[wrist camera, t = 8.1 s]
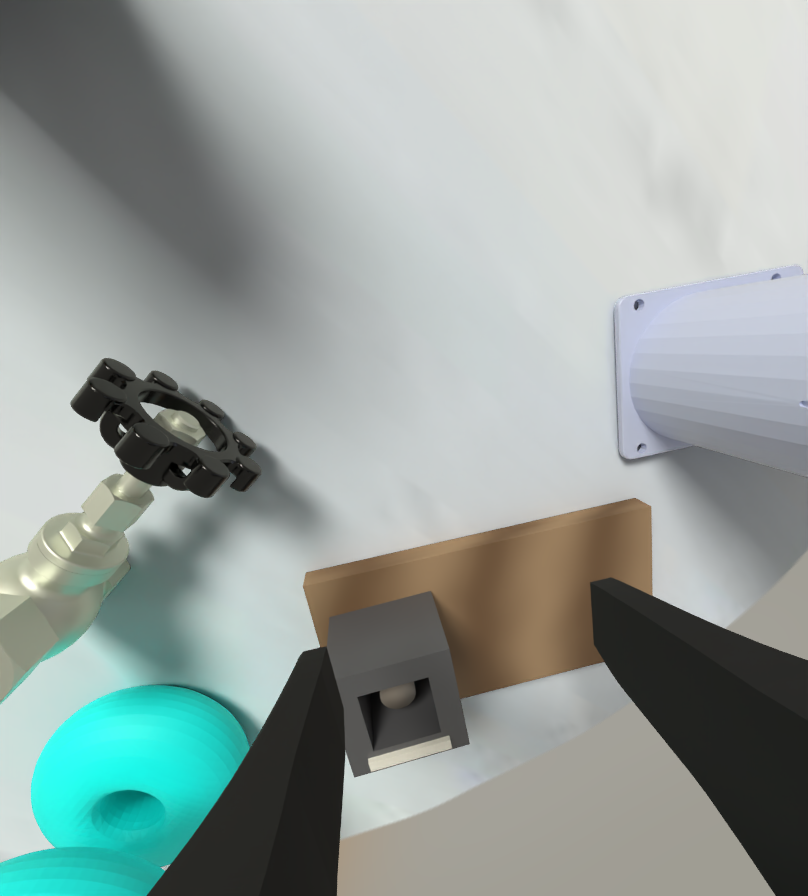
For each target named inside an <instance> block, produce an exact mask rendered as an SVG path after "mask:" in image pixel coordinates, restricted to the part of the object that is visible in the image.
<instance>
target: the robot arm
mask: <svg viewBox="0 0 808 896" xmlns="http://www.w3.org/2000/svg"><path fill="white" fill-rule="evenodd" d="M771 278H772V279H773V280H771ZM635 301H637V302H638V309H637V310H635V309H634V303H635ZM614 321H615V349H616V377H617V406H618V434H619V452H620V455H621V456H622V457H624V458H627V459H636V458H641V457H645V456H650V455H654V454H659V453H664V452H668V451H673V450H677V449H682V448H686V447H691V446H698V447H702V448H705V449H709V450H712V451H716V452H719V453H723V454H726V455H730V456H734V457H737V458H741V459H744V460H748V461H751V462H755V463H758V464H762V465H765V466H769V467H772V468H776V469H779V470H783V471H786V472H790V473H793V474H797V475H800V476H804V477H807V478H808V274H804V275H803V269H802V267H801V266H799V265H791V266H785V267H780V268H775V269H769V270H764V271H758V272H753V273H748V274H742V275H737V276H732V277H726V278H721V279H715V280H710V281H705V282H699V283H694V284H688V285H683V286H678V287H672V288H667V289H661V290H656V291H651V292H645V293H640V294H634V295H629V296H624V297H621V298H619V299H618V300H617V302H616V304H615V307H614ZM639 444H641V448H640V450H638V451H637V447H638V446H639ZM590 591H591V607H592V623H593V640H594V646H595V647H596V649H597V650H598V652H599V654H600V655H601V657H602V659H603V660H604V662H605V663H606V665H607V667H608V668H609V670H610V671H611V673H612V674H613V676H614V677H615V679H616V680H617V682H618V683H619V684H620V686H621V687H622V688H623V689H624V691H625V692H626V693H627V694H628V696H629V697H630V698H631V699H632V701H633V702H634V703H635V705H636V706H637V707H638V708H639V709H640V711H641V712H642V713H643V714H644V716H645V717H646V718H647V719H648V721H649V722H650V723H651V724H652V726H653V727H654V728H655V729H656V730H657V732H658V733H659V734H660V735H661V737H662V738H663V739H664V740H665V742H666V743H667V744H668V745H669V747H670V748H671V749H672V750H673V752H674V753H675V754H676V755H677V756H678V758H679V759H680V760H681V761H682V763H683V764H684V765H685V766H686V768H687V769H688V770H689V771H690V773H691V774H692V775H693V776H694V778H695V779H696V781H697V782H698V783H699V785H700V786H701V787H702V788H703V790H704V791H705V792H706V794H707V795H708V797H709V798H710V799H711V801H712V802H713V804H714V805H715V806H716V808H717V810H718V811H719V812H720V814H721V815H722V817H723V818H724V820H725V821H726V822H727V824H728V825H729V827H730V828H731V830H732V831H733V833H734V834H735V836H736V837H737V838H738V840H739V841H740V843H741V844H742V846H743V847H744V849H745V850H746V852H747V853H748V855H749V856H750V858H751V859H752V861H753V862H754V864H755V865H756V867H757V868H758V870H759V871H760V873H761V874H762V876H763V877H764V879H765V880H766V882H767V883H768V885H769V886H770V888H771V889H772V891H773V892H774V894H775V895H776V896H808V660H805V659H802V658H799V657H797V656H794V655H791V654H788V653H785V652H782V651H779V650H777V649H774V648H772V647H769V646H766V645H763V644H761V643H758V642H756V641H753V640H751V639H749V638H746V637H744V636H741V635H739V634H736V633H734V632H731V631H729V630H727V629H724V628H722V627H720V626H717V625H715V624H713V623H710V622H708V621H706V620H703V619H701V618H699V617H697V616H695V615H692V614H690V613H688V612H686V611H684V610H681V609H679V608H677V607H675V606H673V605H671V604H668V603H666V602H664V601H662V600H660V599H658V598H656V597H654V596H651V595H649V594H647V593H645V592H643V591H641V590H639V589H637V588H634V587H632V586H630V585H628V584H626V583H624V582H621V581H619V580H617V579H614V578H612V577H610V578H606V579H602V580H598V581H593V582H590ZM344 767H345V727H344V707H343V704H342V700H341V697H340V693H339V689H338V686H337V682H336V679H335V675H334V671H333V668H332V664H331V661H330V657H329V653H328V650H327V646H325V647H321V648H317V649H313V650H308V651H304V652H303V653H302V654H301V655H300V657H299V659H298V661H297V663H296V665H295V667H294V669H293V671H292V673H291V675H290V677H289V679H288V681H287V683H286V685H285V687H284V689H283V691H282V692H281V694H280V696H279V698H278V700H277V702H276V704H275V706H274V707H273V709H272V711H271V713H270V715H269V716H268V718H267V720H266V722H265V724H264V725H263V727H262V729H261V731H260V733H259V734H258V736H257V738H256V740H255V741H254V743H253V744H252V746H251V748H250V749H249V751H248V753H247V754H246V756H245V758H244V759H243V761H242V762H241V764H240V766H239V767H238V769H237V771H236V772H235V774H234V776H233V777H232V779H231V780H230V782H229V783H228V785H227V786H226V788H225V789H224V791H223V792H222V794H221V795H220V797H219V798H218V800H217V801H216V803H215V804H214V806H213V807H212V809H211V810H210V811H209V813H208V814H207V816H206V817H205V819H204V820H203V821H202V823H201V824H200V826H199V827H198V829H197V830H196V831H195V833H194V834H193V835H192V837H191V838H190V839H189V841H188V842H187V843H186V845H185V846H184V847H183V849H182V850H181V851H180V853H179V854H178V855H177V857H176V858H175V859H174V861H173V862H172V863H171V865H170V866H169V867H168V869H167V870H166V871H165V872H164V874H163V875H162V876H161V878H160V879H159V880H158V881H157V883H156V884H155V885H154V887H153V888H152V889H151V890H150V892H149V893H148V894H147V896H337V873H338V858H339V843H340V828H341V813H342V798H343V783H344Z"/></svg>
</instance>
